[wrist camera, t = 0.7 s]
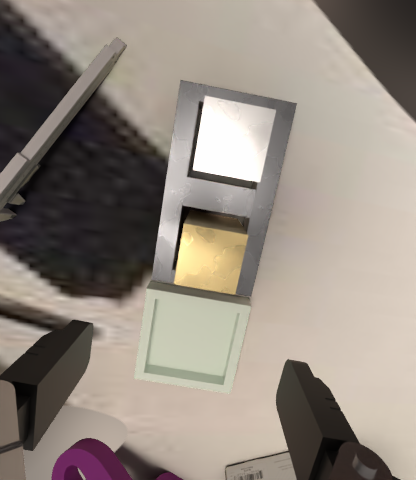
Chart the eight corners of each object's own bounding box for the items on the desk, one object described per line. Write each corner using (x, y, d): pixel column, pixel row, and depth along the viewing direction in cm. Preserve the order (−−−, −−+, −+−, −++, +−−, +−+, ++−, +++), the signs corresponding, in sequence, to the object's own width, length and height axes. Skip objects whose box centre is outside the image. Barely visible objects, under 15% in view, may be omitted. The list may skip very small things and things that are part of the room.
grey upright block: (206, 118, 27) (204, 95, 19) (256, 128, 27) (276, 109, 19) (197, 170, 28) (192, 169, 20) (245, 180, 28) (260, 182, 21)
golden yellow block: (190, 210, 29) (183, 223, 21) (237, 218, 29) (248, 235, 21) (182, 255, 30) (173, 284, 22) (228, 263, 30) (235, 294, 23)
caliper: (16, 218, 30) (-33, 230, 23) (7, 211, 29) (-46, 222, 23) (127, 47, 26) (103, 8, 20) (118, 38, 26) (90, -4, 20)
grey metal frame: (183, 90, 26) (180, 80, 23) (287, 111, 27) (296, 103, 24) (157, 269, 30) (151, 279, 28) (247, 284, 31) (251, 296, 28)
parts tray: (150, 281, 31) (146, 288, 29) (248, 297, 31) (251, 306, 29) (138, 366, 33) (133, 378, 31) (229, 381, 34) (230, 393, 32)
